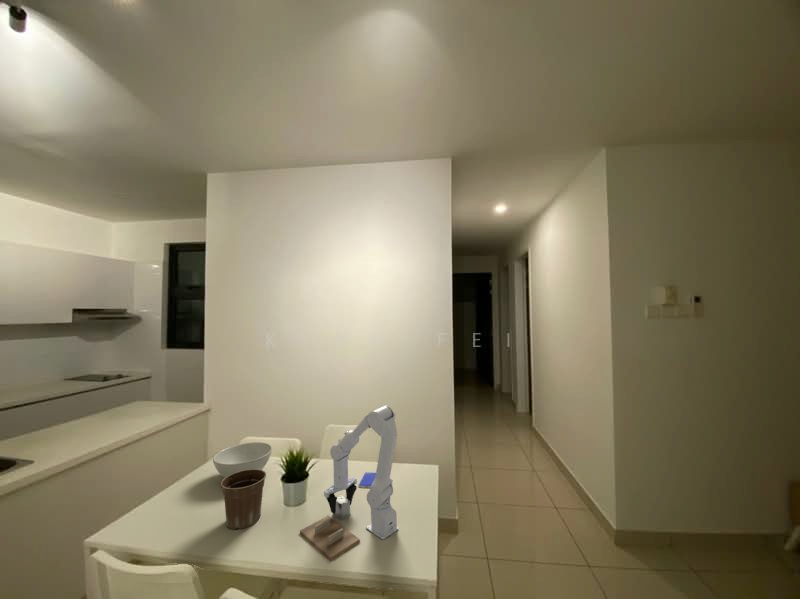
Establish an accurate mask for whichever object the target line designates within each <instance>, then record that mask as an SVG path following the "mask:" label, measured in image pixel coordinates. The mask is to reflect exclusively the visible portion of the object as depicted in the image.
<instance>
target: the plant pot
mask: <svg viewBox="0 0 800 599" xmlns="http://www.w3.org/2000/svg"><path fill="white" fill-rule="evenodd" d="M266 477H267V472H266V471H265V470H263V469H262V470H259V469H248V470H243V471H239V472H236V473H233V474H231V475H229V476H227V477H226V478H224V477H223V479H222V480H221V481H220V487H221V488H222V495H223V499H224V508H225V509H224V510H225V523H226V527H227V528H229V529H232V530H236V529H245V528H249V527H250V526H252V525H254V524H256V523H257V522H258V521H259V519H260V517H261V514H262V503H263V502H262V501H263V492H264V487H265V480H266Z"/></svg>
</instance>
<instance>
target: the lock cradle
mask: <svg viewBox="0 0 800 599" xmlns="http://www.w3.org/2000/svg"><path fill="white" fill-rule="evenodd" d="M299 534H300V535H301V536H302V537H304V538H305V539H306V540H307V541H308V543H310V544H311V545H312V546H314V548H316V550H318V551H319V552H320V553H321V554H322V555H323V556H325V558H327V559H328V560H329V561H332V560H334V559H335V558H338V557H339V556H340V555H342V554H343V553H345V552H346V551H348V550H350V549H351V548H352V547H355V546H356V545H357V544H359V543H360V541H361V538H359V537H358V536H356V535H355V534H354V533H352V532H351V531H349V529H347V528H345V527H344V526H343V525H341V524H340V523H339V522H337V521H336V520H334V518H332V517H330V516H329V515H326V516H325V517H323V518H321V519H319V520H317V521H315V522H313V523H312V524H310V525H308V526H306V527H304V528H302V529H300V530H299Z"/></svg>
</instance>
